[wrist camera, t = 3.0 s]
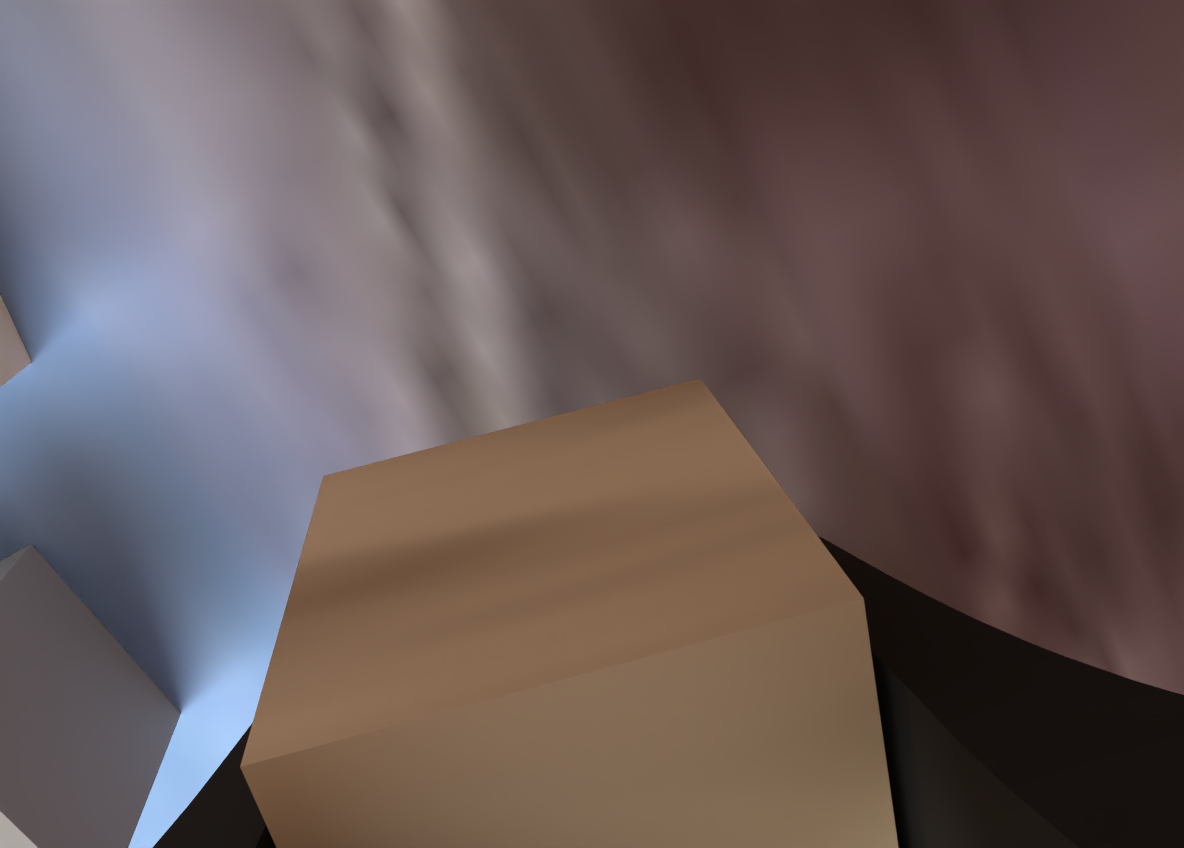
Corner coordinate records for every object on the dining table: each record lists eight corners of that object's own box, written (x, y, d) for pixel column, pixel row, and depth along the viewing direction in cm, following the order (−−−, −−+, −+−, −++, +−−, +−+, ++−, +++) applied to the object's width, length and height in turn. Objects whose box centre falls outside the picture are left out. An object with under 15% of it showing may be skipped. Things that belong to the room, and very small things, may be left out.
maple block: (759, 687, 13) (923, 1028, 9) (432, 777, 13) (422, 1172, 9) (699, 377, 12) (862, 597, 7) (322, 476, 12) (239, 767, 7)
